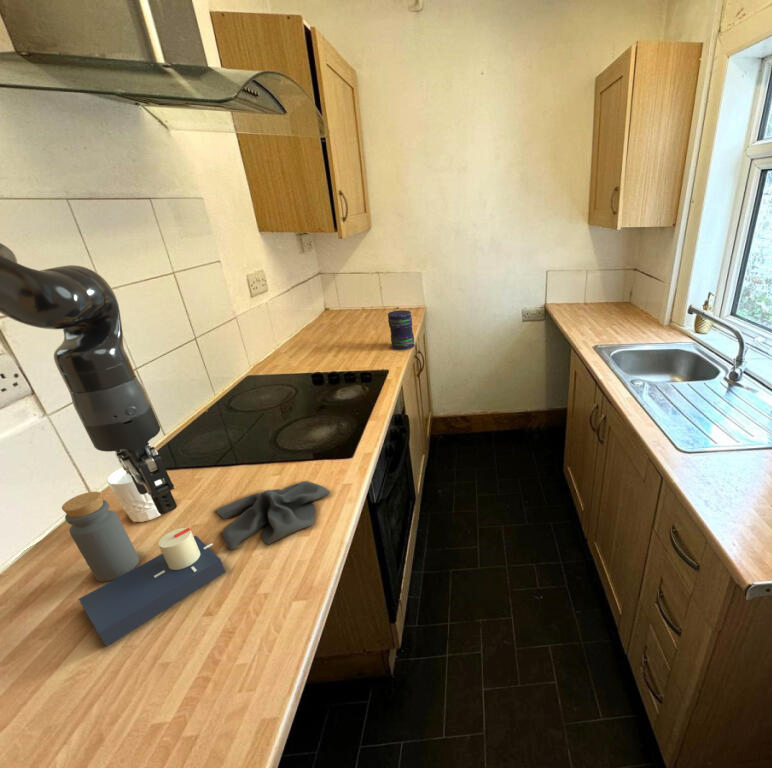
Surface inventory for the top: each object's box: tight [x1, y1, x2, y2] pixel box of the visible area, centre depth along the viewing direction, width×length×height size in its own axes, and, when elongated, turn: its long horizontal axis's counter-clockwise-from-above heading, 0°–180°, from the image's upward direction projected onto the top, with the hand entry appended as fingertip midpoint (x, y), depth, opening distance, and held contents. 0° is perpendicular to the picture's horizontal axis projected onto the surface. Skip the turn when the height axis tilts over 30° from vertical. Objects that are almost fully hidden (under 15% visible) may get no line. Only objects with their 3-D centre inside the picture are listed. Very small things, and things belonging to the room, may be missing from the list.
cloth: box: [216, 480, 331, 551], centre depth 84 cm, size 22×19×6 cm
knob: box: [157, 527, 200, 570], centre depth 70 cm, size 4×4×5 cm
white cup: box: [106, 467, 162, 523], centre depth 85 cm, size 8×8×10 cm
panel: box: [78, 535, 226, 647], centre depth 69 cm, size 17×10×3 cm, turn 145°
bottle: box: [61, 491, 140, 583], centre depth 70 cm, size 6×6×15 cm
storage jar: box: [387, 306, 415, 351], centre depth 179 cm, size 10×10×18 cm
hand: (158, 500), depth 66 cm, fingers open, 8 cm apart
